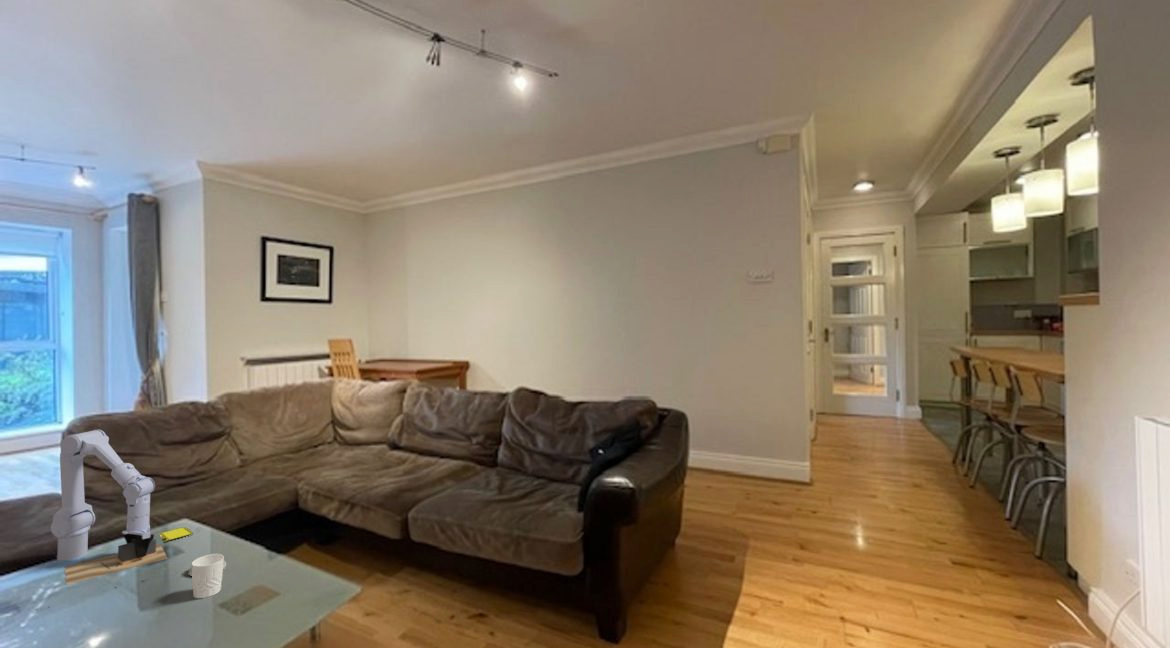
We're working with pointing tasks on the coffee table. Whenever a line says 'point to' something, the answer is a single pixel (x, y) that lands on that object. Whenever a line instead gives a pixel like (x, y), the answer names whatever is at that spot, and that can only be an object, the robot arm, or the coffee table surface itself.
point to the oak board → (106, 566)
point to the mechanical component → (202, 556)
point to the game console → (174, 534)
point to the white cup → (207, 575)
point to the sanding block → (134, 552)
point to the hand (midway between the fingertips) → (137, 554)
